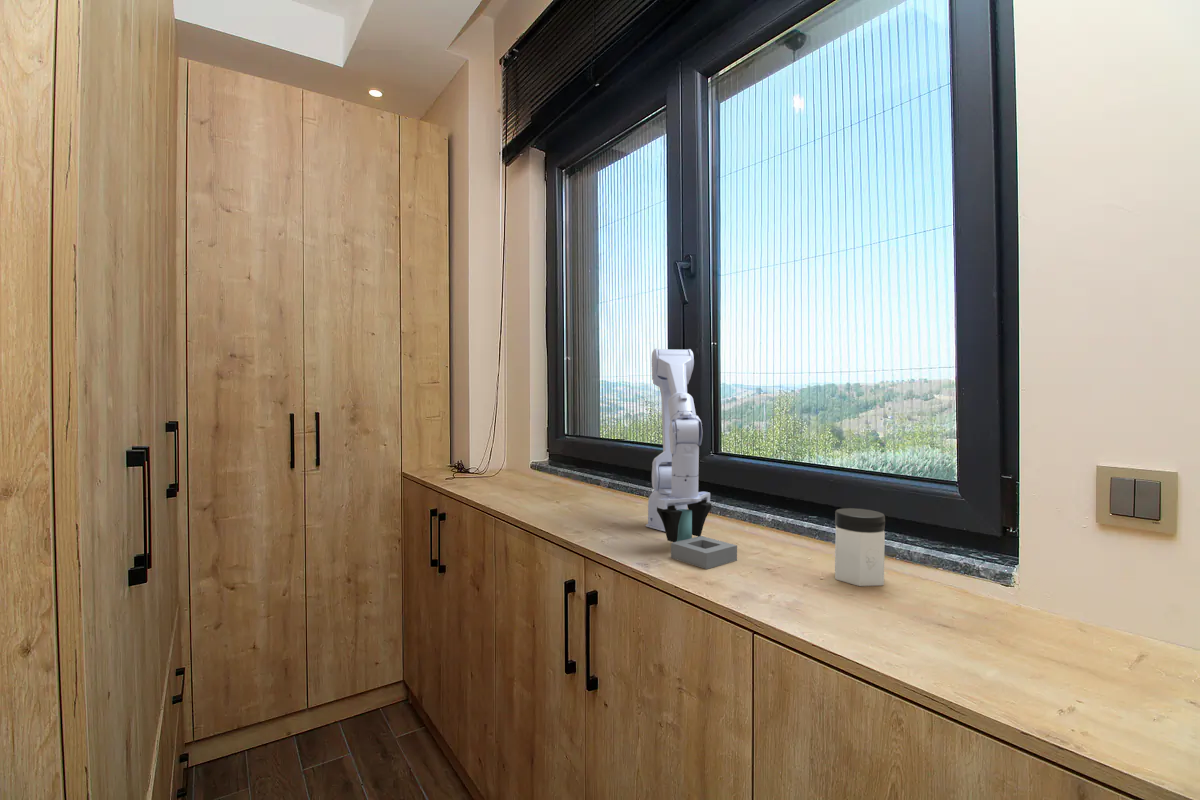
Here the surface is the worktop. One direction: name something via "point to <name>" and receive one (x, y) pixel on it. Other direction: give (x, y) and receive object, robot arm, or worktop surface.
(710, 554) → the socket block
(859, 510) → the jar
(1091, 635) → the worktop surface
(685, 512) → the peg
